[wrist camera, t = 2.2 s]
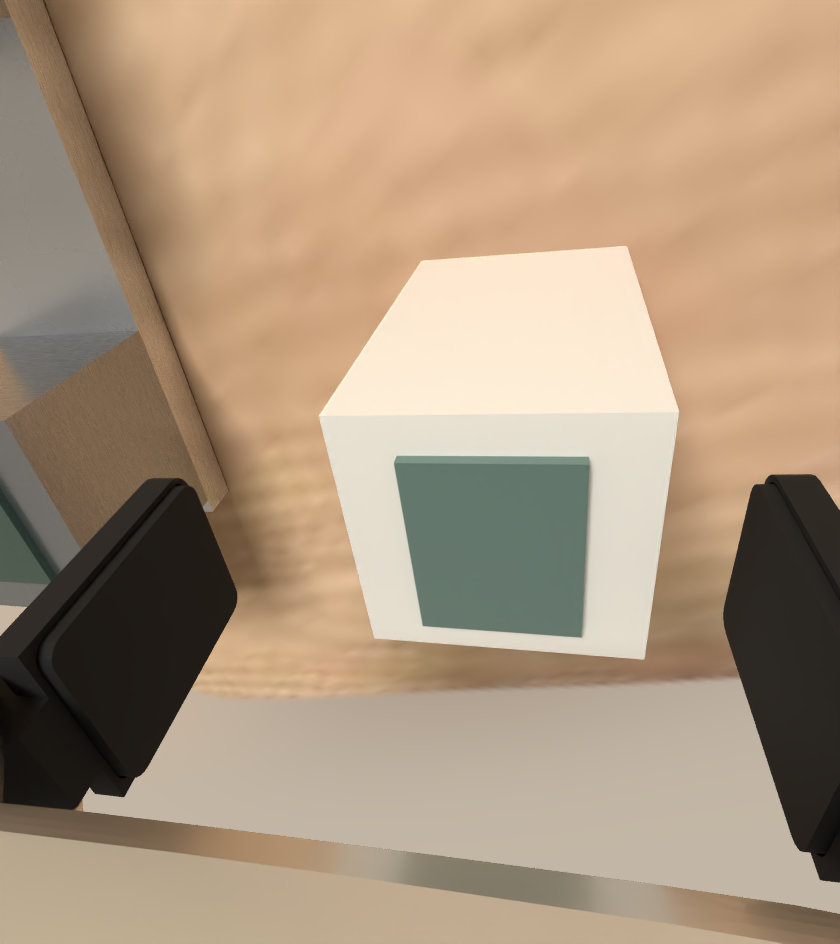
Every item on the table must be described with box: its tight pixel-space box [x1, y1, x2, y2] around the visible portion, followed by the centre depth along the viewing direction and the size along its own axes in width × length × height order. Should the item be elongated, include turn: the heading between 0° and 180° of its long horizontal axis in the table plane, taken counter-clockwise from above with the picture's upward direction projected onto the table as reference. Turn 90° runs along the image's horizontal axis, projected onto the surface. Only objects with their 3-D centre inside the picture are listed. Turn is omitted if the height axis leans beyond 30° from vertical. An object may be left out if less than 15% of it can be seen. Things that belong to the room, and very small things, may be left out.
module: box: [319, 246, 679, 659], centre depth 13 cm, size 5×5×8 cm
